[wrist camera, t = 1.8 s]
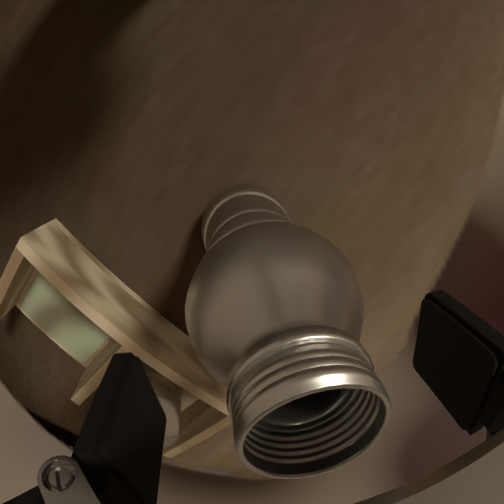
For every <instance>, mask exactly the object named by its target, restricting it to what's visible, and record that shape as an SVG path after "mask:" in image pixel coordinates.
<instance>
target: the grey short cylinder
mask: <svg viewBox="0 0 504 504" xmlns="http://www.w3.org/2000/svg"><path fill="white" fill-rule="evenodd" d="M140 360H141V359H140ZM141 362H142V365H143V367H144V369H145V372H146V374H147V376H148V378H149V381H150V383H151V385H152V387H153V389H154V392H155V394H156V396H157V398H158V400H159V402H160V404H161V406H162V408H163V410H164V412H165V415H166V421H167V422H166V430H165V437H164V445H163V448H164V447H168V446H170V445H172V444H174V443H175V442H176V441H177V439H178V434H179V422H180V411H181V401H182V391H183V388H181V387H180V386H178V385H177V384H175V383H174V382H172V381H171V380H169V379H168V378H166V377H165V376H163V375H162V374H160V373H159V372H158V371H156V370H155V369H153V368H152V367H150V366H149V365H148V364H146V363H145V362H143V361H142V360H141Z"/></svg>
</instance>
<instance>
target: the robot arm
mask: <svg viewBox="0 0 504 504" xmlns="http://www.w3.org/2000/svg"><path fill="white" fill-rule="evenodd" d="M413 366H414V368H415V370H416V371H417V373H418V374H419V375H420V376H421V377H422V379H423V380H424V381H425V382H426V383H427V385H428V386H429V387H430V389H431V390H432V391H433V392H434V394H435V395H436V396H437V397H438V399H439V400H440V401H441V403H442V404H443V405H444V407H445V408H446V409H447V410H448V412H449V413H450V414H451V415H452V417H453V418H454V419H455V421H456V422H457V423H458V425H459V426H460V427H461V428H462V429H463V430H467V431H468V433H469V434H470V435H472V434H474V433H475V432H477V431H478V430H480V429H482V427H483V425H484V426H485V427H486V429H487V430H486V440H485V441H484V442H482V443H481V444H479V445H478V446H476V447H475V448H473V449H472V450H470V451H468V452H467V453H465V454H463V455H462V456H460V457H458V458H457V459H455V460H453V461H451V462H449V463H447V464H446V465H444V466H442V467H440V468H438V469H436V470H434V471H432V472H430V473H428V474H426V475H424V476H422V477H420V478H418V479H416V480H413V481H411V482H409V483H407V484H405V485H402V486H400V487H397V488H395V489H393V490H390V491H388V492H385V493H383V494H380V495H377V496H375V497H372V498H369V499H366V500H363V501H360V502H357V503H354V504H504V336H503V335H502V334H500V333H499V332H498V331H497V330H495V329H494V328H493V327H492V326H490V325H489V324H488V323H486V322H485V321H484V320H483V319H481V318H480V317H478V316H477V315H476V314H475V313H473V312H472V311H471V310H469V309H468V308H467V307H465V306H464V305H462V304H461V303H460V302H458V301H457V300H456V299H454V298H453V297H451V296H450V295H449V294H447V293H446V292H444V291H443V290H437V291H434V292H431V293H428V294H426V296H425V298H424V299H423V300H422V303H421V311H420V319H419V326H418V333H417V339H416V346H415V352H414V357H413ZM166 422H167V421H166V415H165V412H164V410H163V408H162V406H161V404H160V402H159V400H158V398H157V396H156V394H155V392H154V389H153V387H152V385H151V383H150V381H149V378H148V376H147V374H146V372H145V369H144V367H143V365H142V362H141V360H140V358H139V357H138V356H134V355H133V353H131V352H126V353H115V354H114V355H113V356H112V358H111V361H110V363H109V365H108V367H107V369H106V372H105V374H104V376H103V378H102V381H101V383H100V385H99V388H98V390H97V392H96V395H95V397H94V399H93V402H92V404H91V407H90V409H89V411H88V414H87V416H86V419H85V421H84V424H83V426H82V429H81V432H80V434H79V437H78V439H77V442H76V445H75V447H74V450H73V454H72V457H68V456H64V455H63V456H55V457H52V458H50V459H49V460H47V461H45V462H44V464H43V465H42V466H41V467H40V469H39V471H38V475H37V481H38V486H36V487H34V488H32V489H30V490H29V491H27V492H25V493H23V494H21V495H19V496H17V497H15V498H13V499H11V500H9V501H7V502H5V503H3V504H156V502H157V495H158V486H159V485H158V484H159V477H160V468H161V460H162V452H163V445H164V437H165V430H166Z"/></svg>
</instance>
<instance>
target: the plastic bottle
mask: <svg viewBox="0 0 504 504" xmlns="http://www.w3.org/2000/svg"><path fill="white" fill-rule="evenodd" d="M202 238H203V243H204V247H205V249H206V254H205V255H204V257H203V258H202V260H201V261H200V263H199V264H198V266H197V268H196V271H195V273H194V275H193V278H192V280H191V283H190V286H189V289H188V291H187V296H186V302H185V324H186V327H187V331H188V334H189V338H190V341H191V343H192V346H193V349H194V351H195V353H196V355H197V357H198V359H199V360H200V362H201V364H202V365H203V366H204V368H205V369H206V370H207V371H208V372H209V373H210V374H211V375H212V376H213V377H214V378H215V379H216V380H217V381H218V382H220V383H221V384H222V385H223V386H224V387H225V388H226V402H227V410H228V413H229V416H230V418H231V420H232V425H233V436H234V446H235V448H236V451H237V454H238V457H239V460H240V461H241V462H242V463H243V465H244V466H245V467H247V468H248V469H250V470H251V471H253V472H255V473H257V474H260V475H262V476H267V477H271V478H279V479H299V478H305V477H312V476H316V475H320V474H324V473H327V472H330V471H333V470H335V469H338V468H340V467H342V466H344V465H346V464H348V463H350V462H352V461H353V460H355V459H357V458H358V457H360V456H361V455H363V454H364V453H365V452H366V451H368V450H369V449H370V448H371V447H372V446H373V445H374V444H375V443H376V442H377V441H378V440H379V439H380V437H381V436H382V435H383V434H384V432H385V431H386V429H387V427H388V425H389V423H390V419H391V416H392V405H391V403H390V400H389V396H388V394H387V391H386V390H385V388H384V386H383V385H382V383H381V381H380V380H379V378H378V377H377V375H376V374H375V372H374V366H373V363H372V361H371V359H370V356H369V355H368V353H367V352H366V350H365V349H364V347H363V346H362V345H361V344H360V342H359V341H360V337H361V332H362V327H363V321H364V302H363V297H362V291H361V288H360V285H359V282H358V278H357V276H356V274H355V271H354V269H353V267H352V264H351V263H350V261H349V260H348V259H347V257H346V256H345V255H344V253H343V252H342V251H341V250H340V249H339V248H338V247H337V246H335V245H334V244H333V243H332V242H331V241H330V240H328V239H327V238H325V237H323V236H322V235H320V234H318V233H316V232H315V231H313V230H311V229H309V228H307V227H305V226H301V225H298V224H296V223H293V222H291V219H290V216H289V213H288V211H287V209H286V207H285V206H284V204H283V202H282V201H281V200H280V199H279V198H278V197H277V196H276V195H275V194H274V193H272V192H271V191H270V190H268V189H266V188H264V187H261V186H258V185H254V184H240V185H235V186H232V187H229V188H227V189H225V190H223V191H222V192H220V193H219V194H218V195H217V196H215V197H214V198H213V199H212V201H211V202H210V204H209V205H208V206H207V208H206V211H205V213H204V215H203V220H202Z"/></svg>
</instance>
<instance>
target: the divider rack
mask: <svg viewBox="0 0 504 504" xmlns="http://www.w3.org/2000/svg"><path fill="white" fill-rule="evenodd" d="M15 305H16V306H17V307H18V308H19V309H20V310H21V311H22V312H23V313H24V314H25V315H26V316H27V317H28V318H29V319H30V320H31V321H32V322H33V323H34V324H35V325H36V326H37V327H38V328H39V329H40V330H42V331H43V332H44V333H45V334H46V335H47V336H48V337H49V338H50V339H52V340H53V341H54V342H55V343H56V344H57V345H59V346H60V347H61V348H62V349H63V350H64V351H66V352H67V353H68V354H69V355H70V356H72V357H73V358H74V359H75V360H77V361H78V362H79V363H80V364H82V365H83V366H84V367H86V368H85V370H84V372H83V374H82V376H81V379H80V381H79V383H78V385H77V387H76V389H75V391H74V393H73V395H72V398H71V400H72V401H73V402H75V403H76V404H77V405H80V404H81V403H82V402H83V401H84V400H86V399H87V398H88V397H89V396H90V395H91V394H92V393H93V392H94V391H95V390H96V389H97V388H98V387H99V385H100V383H101V381H102V378H103V376H104V374H105V372H106V369H107V367H108V365H109V363H110V361H111V358H112V356H113V355H114V354H115V353H126V352H131V353H133V355H134V356H138V357H139V358H140V359H141V360H142V361H143V362H145V363H146V364H148V365H149V366H150V367H152V368H153V369H155V370H156V371H158V372H159V373H160V374H162V375H163V376H165V377H166V378H168V379H169V380H171V381H172V382H174V383H175V384H177V385H178V386H180V387H181V388H183V391H182V401H181V411H180V422H179V434H178V439H177V441H176V442H175V443H174V444H172V445H170V446H168V447H164V448H163V453H162V455H164V456H166V457H168V458H172V457H174V456H176V455H178V454H179V453H181V452H183V451H185V450H187V449H189V448H190V447H192V446H194V445H196V444H198V443H199V442H201V441H203V440H205V439H206V438H208V437H210V436H211V435H213V434H215V433H217V432H218V431H220V430H222V429H223V428H225V427H226V426H228V425H230V424H231V423H232V420H231V418H230V416H229V413H228V410H227V402H226V388H225V387H224V386H223V385H222V384H221V383H220V382H218V381H217V380H216V379H215V378H214V377H213V376H212V375H211V374H210V373H209V372H208V371H207V370H206V369H205V368H204V366H203V365H202V364H201V362H200V360H199V359H198V357H197V355H196V353H195V351H194V349H193V346H192V343H191V341H190V338H189V336H187V335H186V334H185V333H183V332H182V331H181V330H180V329H178V328H177V327H176V326H174V325H173V324H172V323H171V322H169V321H168V320H167V319H166V318H164V317H163V316H162V315H161V314H159V313H158V312H157V311H156V310H155V309H153V308H152V307H151V306H150V305H149V304H147V303H146V302H145V301H144V300H143V299H141V298H140V297H139V296H138V295H137V294H136V293H134V292H133V291H132V290H131V289H130V288H129V287H128V286H126V285H125V284H124V283H123V282H122V281H121V280H120V279H118V278H117V277H116V276H115V275H114V274H113V273H112V272H111V271H110V270H108V269H107V268H106V267H105V266H104V265H103V264H102V263H101V262H100V261H99V260H98V259H97V258H96V257H95V256H93V255H92V254H91V253H90V252H89V251H88V250H87V249H86V248H85V247H84V246H83V245H82V244H81V243H80V242H79V241H78V240H77V239H76V238H75V237H74V236H73V235H72V234H71V233H70V232H69V231H68V230H67V229H66V228H65V227H64V226H63V225H62V224H61V223H60V222H59V221H58V220H57V219H54V220H52V221H50V222H48V223H46V224H44V225H42V226H40V227H39V228H37V229H35V230H33V231H31V232H29V233H28V234H26V235H24V236H22V237H21V238H20V240H19V242H18V244H17V245H16V247H15V249H14V251H13V253H12V256H11V258H10V260H9V262H8V264H7V266H6V268H5V270H4V273H3V275H2V277H1V279H0V320H1V319H2V318H3V317H4V316H5V315H6V314H7V313H8V312H9V311H10V310H11V309H12V308H13V307H14V306H15Z"/></svg>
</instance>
